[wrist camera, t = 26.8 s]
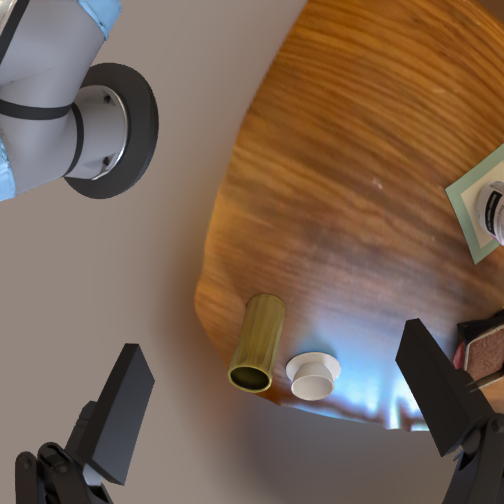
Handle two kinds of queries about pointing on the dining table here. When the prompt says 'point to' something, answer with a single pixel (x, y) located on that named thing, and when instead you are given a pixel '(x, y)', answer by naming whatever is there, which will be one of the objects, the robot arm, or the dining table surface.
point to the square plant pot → (481, 349)
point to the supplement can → (492, 209)
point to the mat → (465, 202)
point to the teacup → (313, 375)
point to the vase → (258, 344)
